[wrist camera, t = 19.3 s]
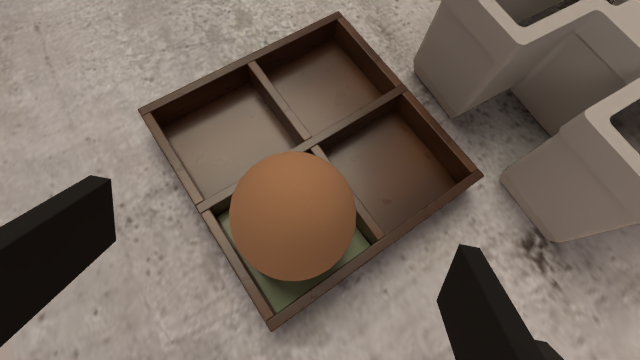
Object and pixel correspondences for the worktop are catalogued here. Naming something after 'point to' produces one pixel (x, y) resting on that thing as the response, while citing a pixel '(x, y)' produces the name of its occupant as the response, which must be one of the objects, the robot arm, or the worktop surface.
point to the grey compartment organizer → (549, 100)
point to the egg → (292, 216)
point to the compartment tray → (311, 146)
